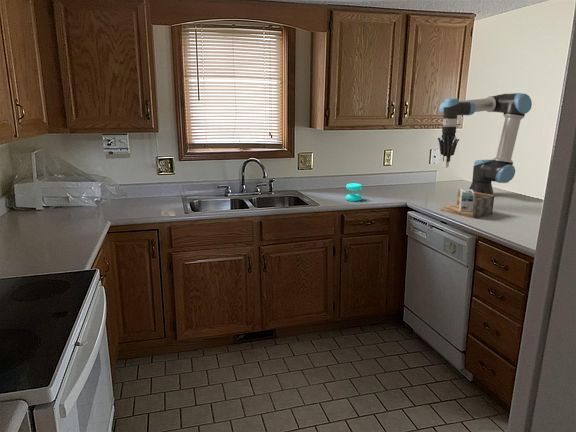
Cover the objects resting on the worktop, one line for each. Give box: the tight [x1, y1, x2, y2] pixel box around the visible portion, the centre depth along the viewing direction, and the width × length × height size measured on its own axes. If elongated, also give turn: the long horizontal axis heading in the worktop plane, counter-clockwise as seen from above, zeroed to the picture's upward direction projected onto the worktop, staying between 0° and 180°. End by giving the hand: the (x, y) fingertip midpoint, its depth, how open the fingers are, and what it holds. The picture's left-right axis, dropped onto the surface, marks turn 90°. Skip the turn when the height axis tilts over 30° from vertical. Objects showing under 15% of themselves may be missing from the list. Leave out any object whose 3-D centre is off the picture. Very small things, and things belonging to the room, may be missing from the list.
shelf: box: [439, 188, 495, 219], centre depth 244 cm, size 16×22×10 cm
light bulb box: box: [459, 188, 475, 212], centre depth 243 cm, size 11×7×11 cm, turn 164°
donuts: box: [345, 182, 363, 202], centre depth 276 cm, size 10×10×10 cm
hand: (446, 167), depth 258 cm, fingers closed
